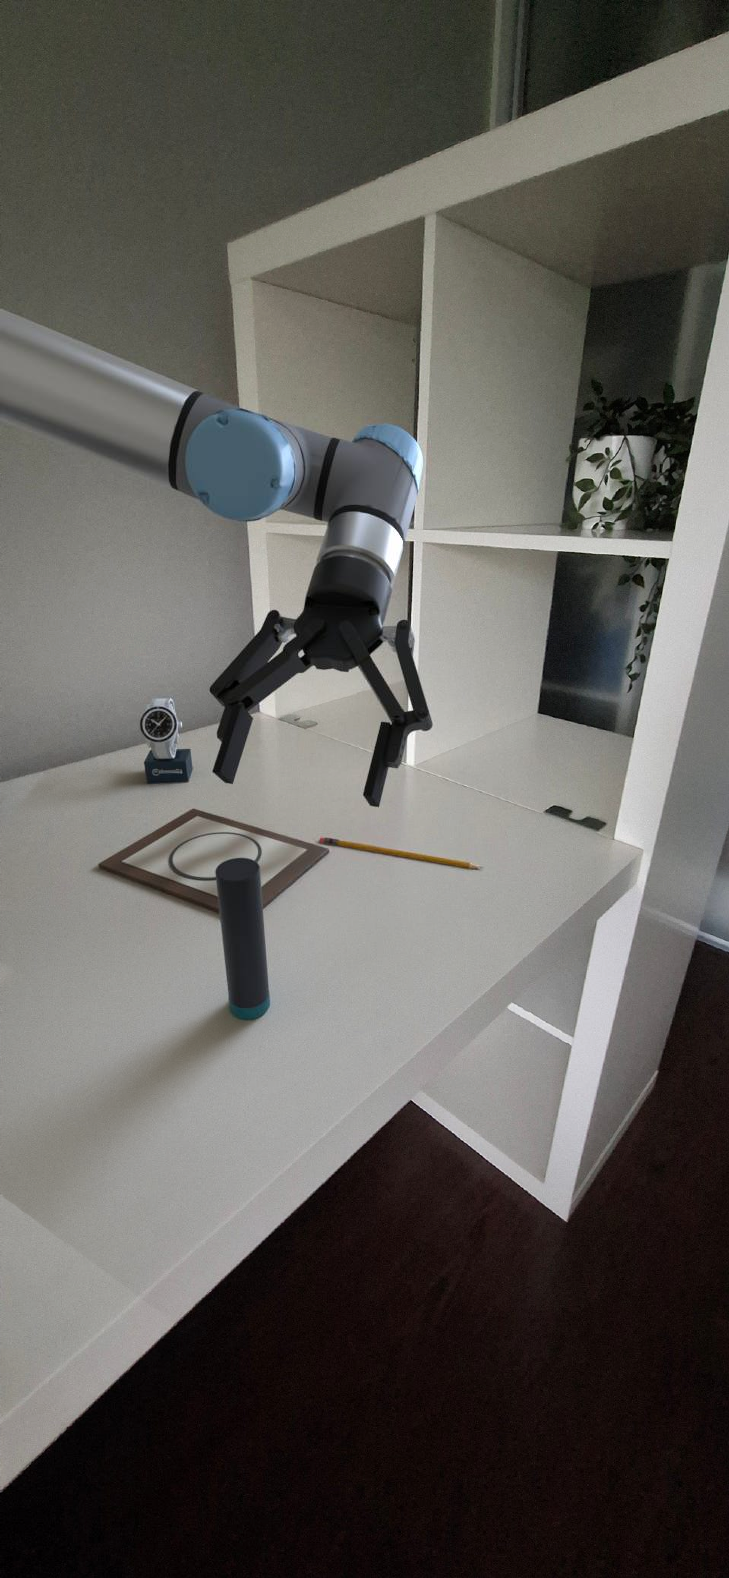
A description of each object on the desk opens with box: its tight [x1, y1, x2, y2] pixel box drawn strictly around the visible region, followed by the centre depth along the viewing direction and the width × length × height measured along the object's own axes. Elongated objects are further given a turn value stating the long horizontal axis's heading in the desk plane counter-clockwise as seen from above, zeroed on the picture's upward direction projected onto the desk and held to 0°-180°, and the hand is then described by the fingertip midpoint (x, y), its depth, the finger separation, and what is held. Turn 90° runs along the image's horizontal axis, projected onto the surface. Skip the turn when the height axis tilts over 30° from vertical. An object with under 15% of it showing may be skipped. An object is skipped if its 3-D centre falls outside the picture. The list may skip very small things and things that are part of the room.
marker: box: [215, 858, 271, 1021], centre depth 53 cm, size 3×3×13 cm
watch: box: [139, 697, 194, 784], centre depth 93 cm, size 6×8×11 cm
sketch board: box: [97, 808, 330, 914], centre depth 76 cm, size 20×15×1 cm
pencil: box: [319, 836, 484, 869], centre depth 77 cm, size 19×1×1 cm, turn 72°
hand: (294, 789), depth 58 cm, fingers open, 13 cm apart
